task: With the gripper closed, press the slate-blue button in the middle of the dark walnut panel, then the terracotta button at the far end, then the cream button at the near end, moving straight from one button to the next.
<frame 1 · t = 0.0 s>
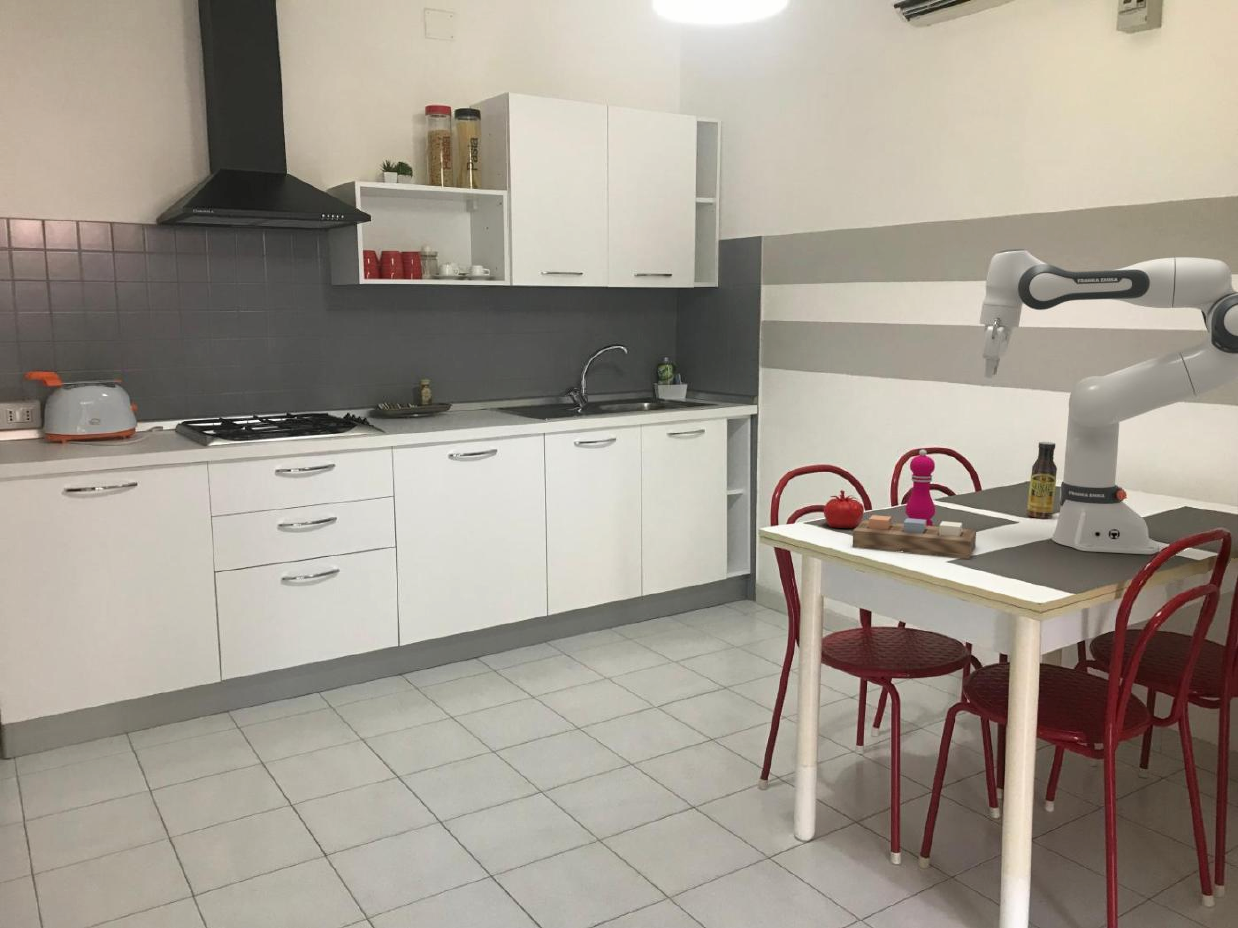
hand: (990, 376, 241), 39 cm above the table, tool pointing down, fingers open, 8 cm apart
slate button: (914, 528, 233), point 4 cm above the table, slide at 0.0 cm
terracotta button: (879, 525, 237), point 4 cm above the table, slide at 0.0 cm
button panel: (913, 546, 234), on the table
sauce bottle: (1040, 517, 265), on the table
pepper mill: (919, 528, 254), on the table
cream button: (950, 531, 230), point 4 cm above the table, slide at 0.0 cm
red tomato: (843, 526, 256), on the table
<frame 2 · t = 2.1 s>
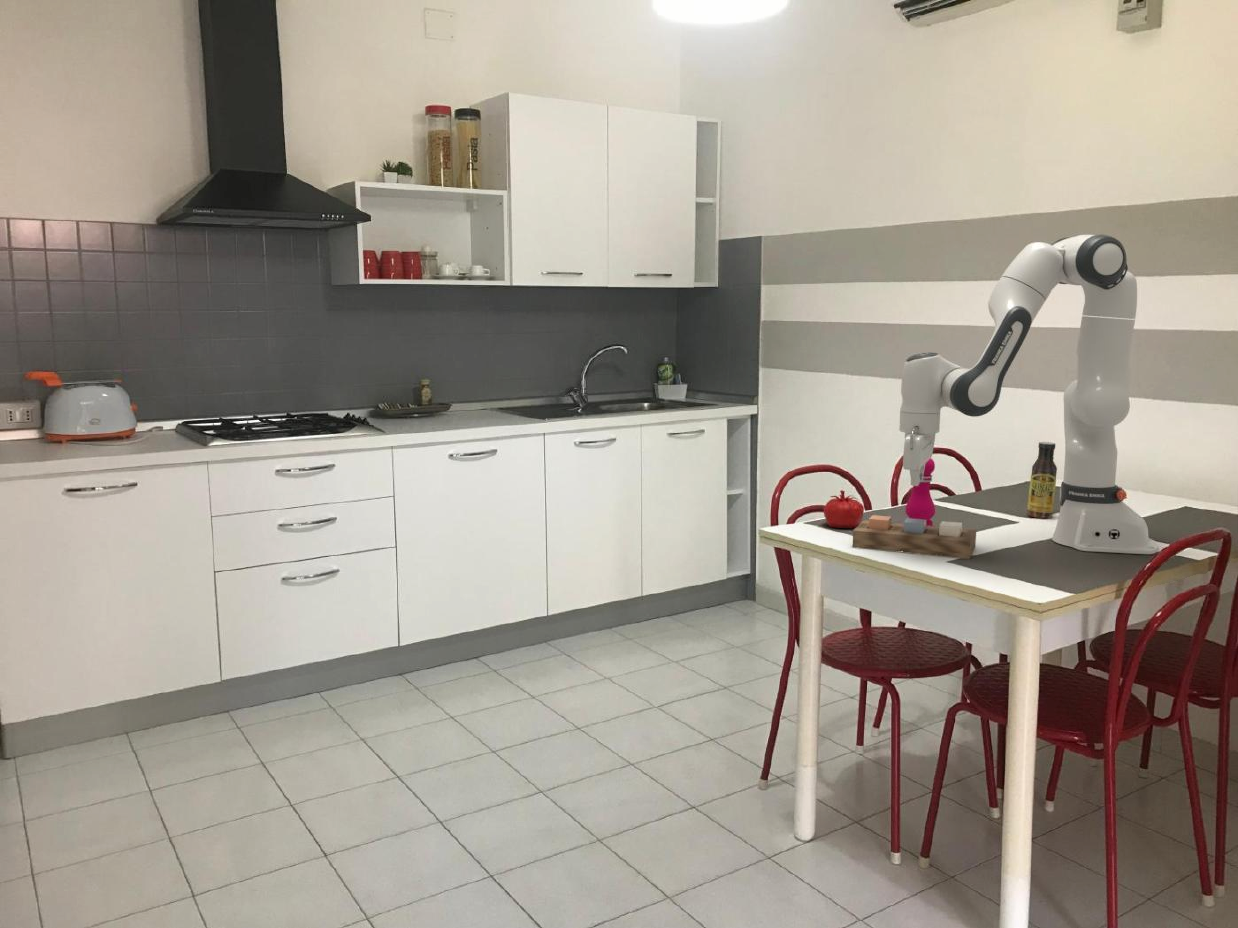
hand: (916, 483, 232), 15 cm above the table, tool pointing down, fingers open, 4 cm apart
nothing on the table moved.
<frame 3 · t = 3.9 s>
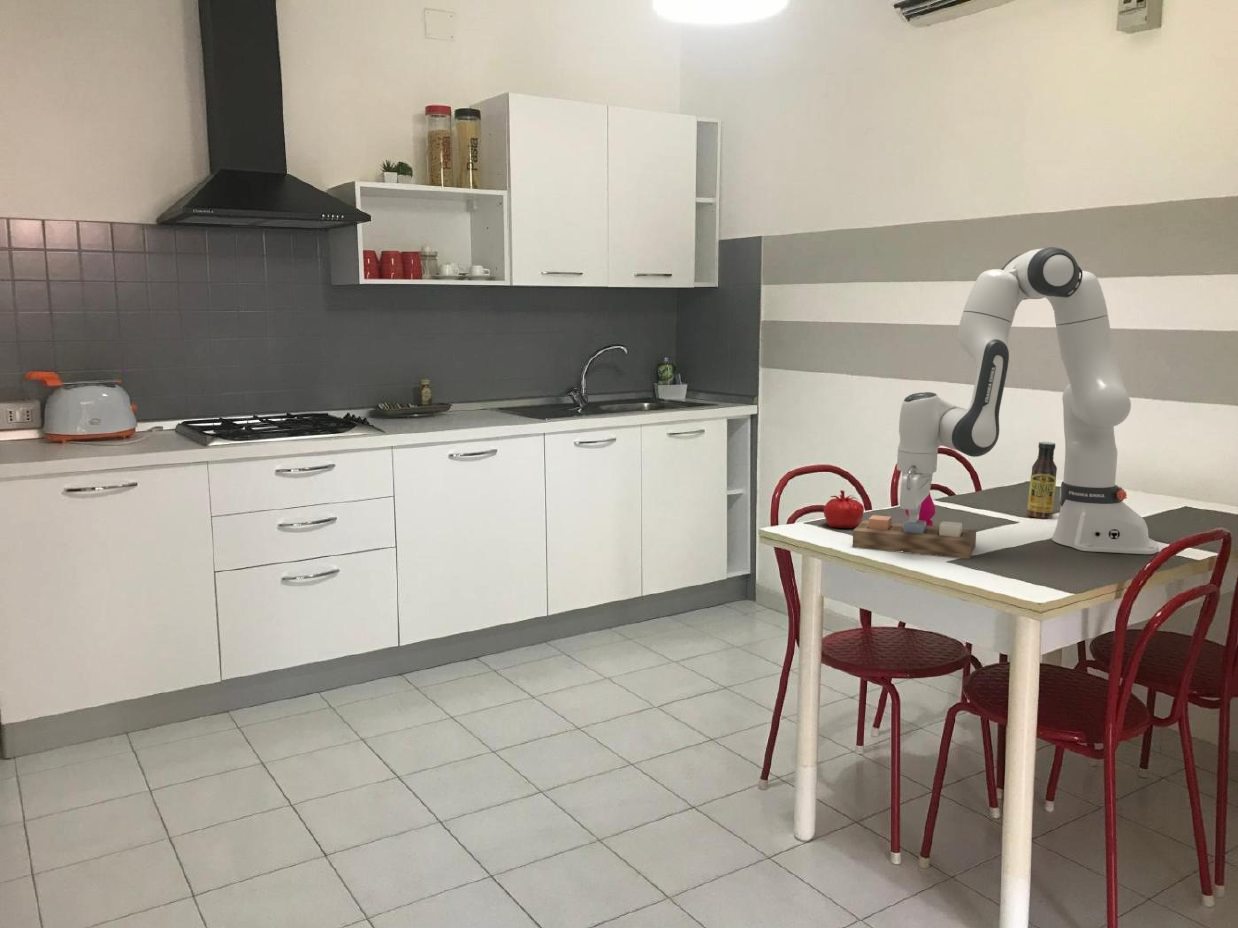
hand: (913, 521, 233), 6 cm above the table, tool pointing down, fingers closed, pressing on slate button
slate button: (914, 529, 233), point 4 cm above the table, slide at 0.3 cm, touching gripper
everything else where it was.
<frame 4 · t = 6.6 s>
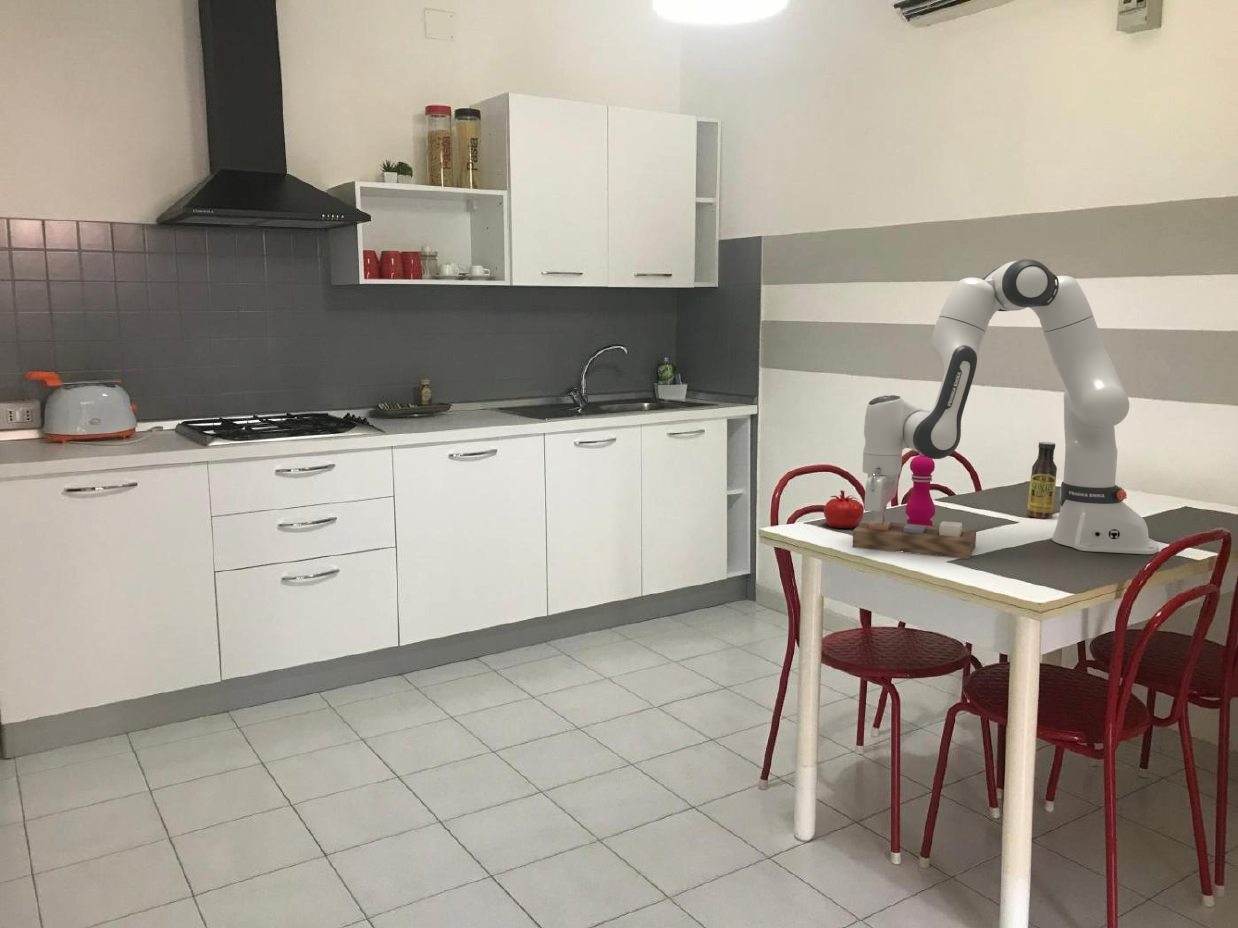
hand: (879, 522, 237), 5 cm above the table, tool pointing down, fingers closed, pressing on terracotta button
slate button: (914, 533, 234), point 3 cm above the table, slide at 1.4 cm
terracotta button: (879, 530, 237), point 3 cm above the table, slide at 1.3 cm, touching gripper
everything else where it was.
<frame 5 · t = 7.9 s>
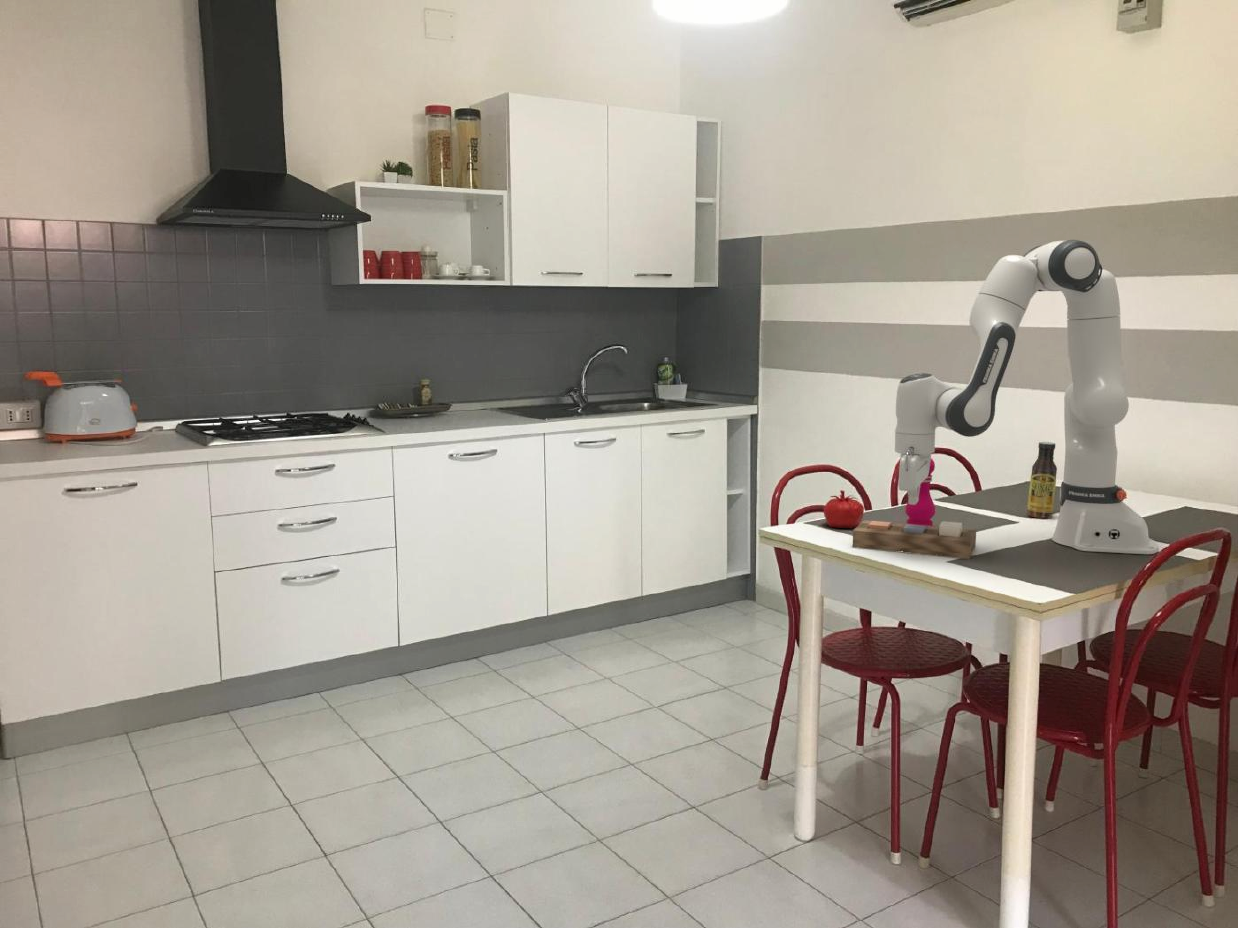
hand: (913, 503, 233), 10 cm above the table, tool pointing down, fingers closed
terracotta button: (879, 530, 237), point 3 cm above the table, slide at 1.4 cm
everything else where it was.
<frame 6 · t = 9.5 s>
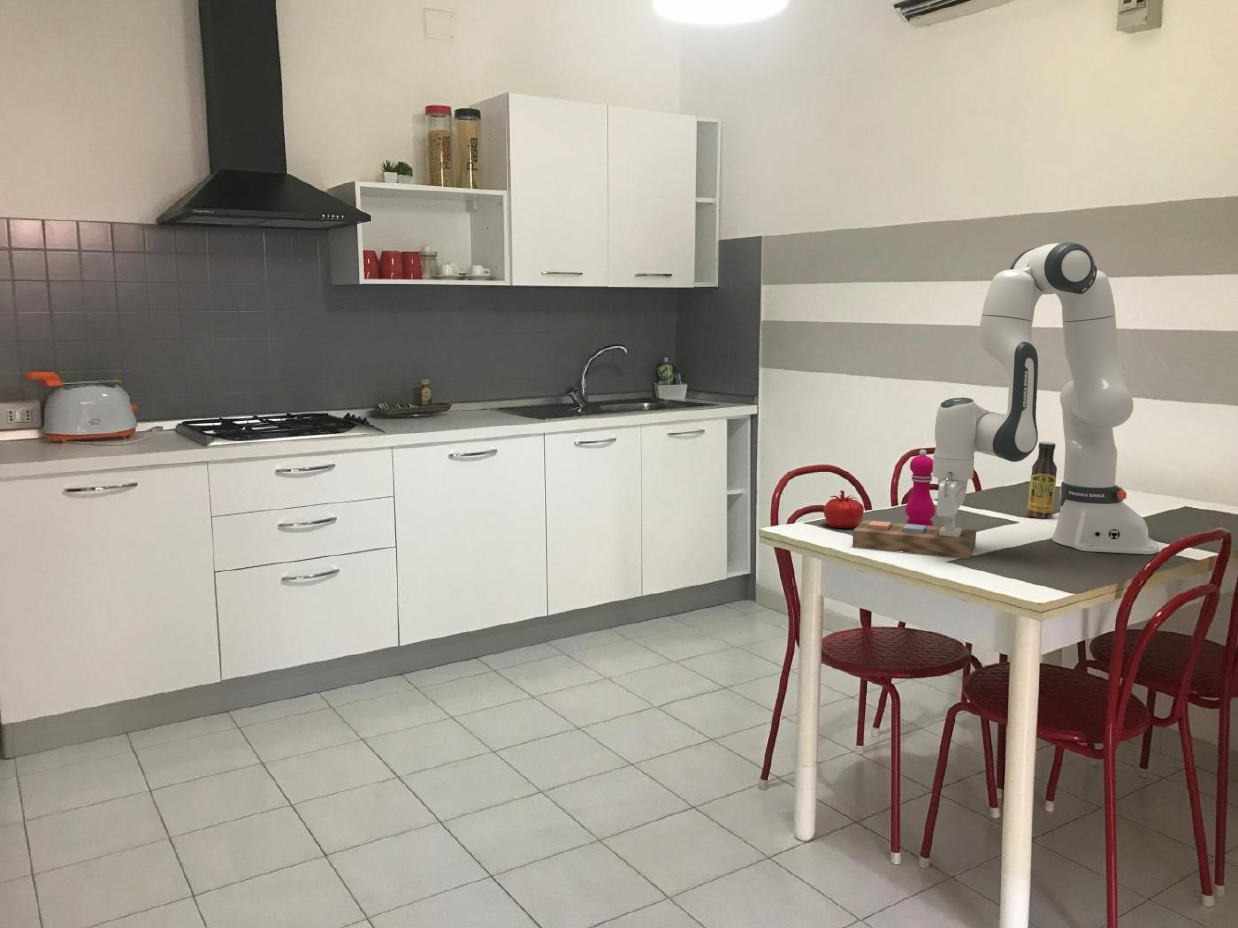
hand: (949, 528, 230), 5 cm above the table, tool pointing down, fingers closed, pressing on cream button
cream button: (950, 536, 230), point 3 cm above the table, slide at 1.2 cm, touching gripper
everything else where it was.
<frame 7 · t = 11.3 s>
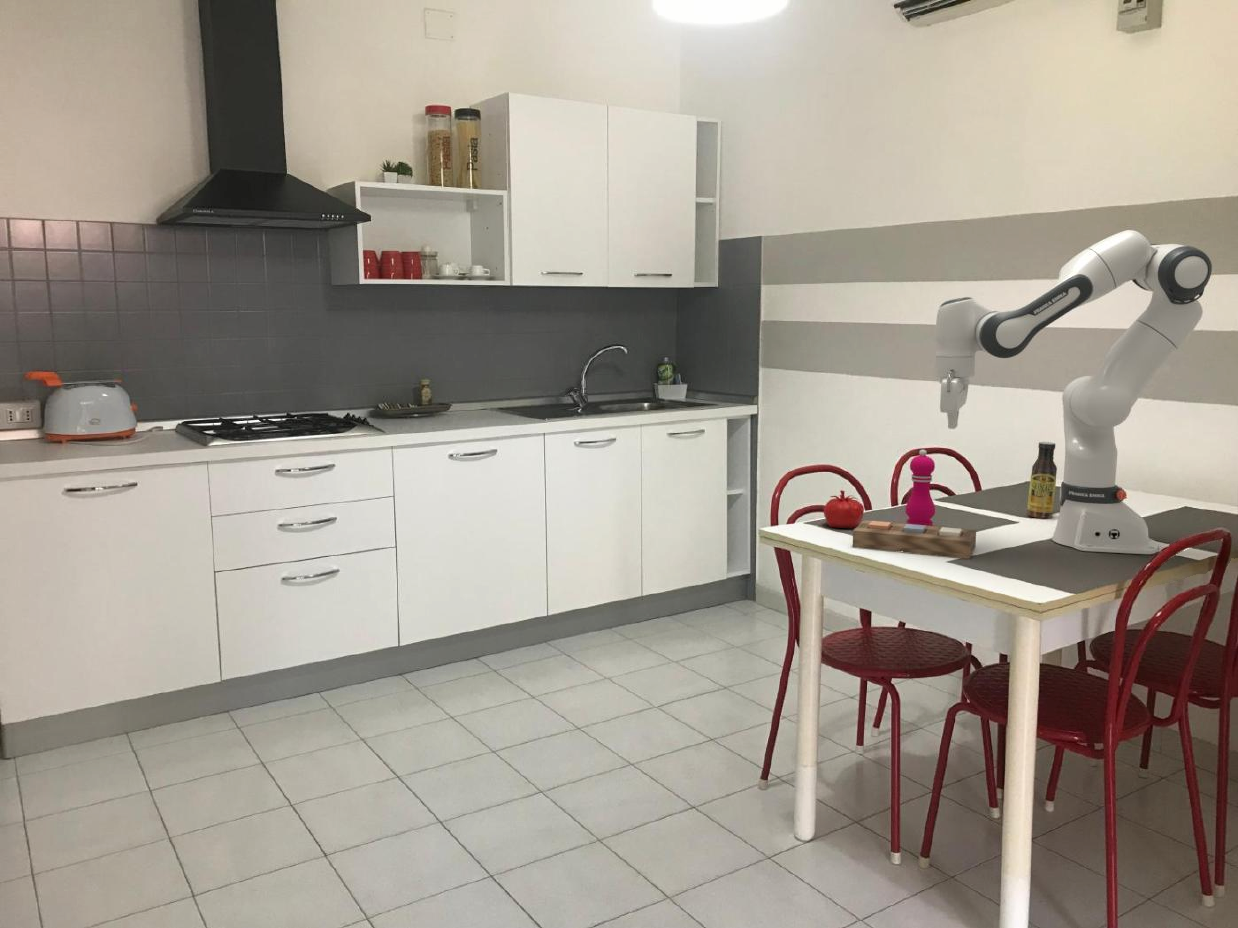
hand: (952, 428, 234), 27 cm above the table, tool pointing down, fingers closed
cream button: (950, 537, 230), point 3 cm above the table, slide at 1.4 cm
everything else where it was.
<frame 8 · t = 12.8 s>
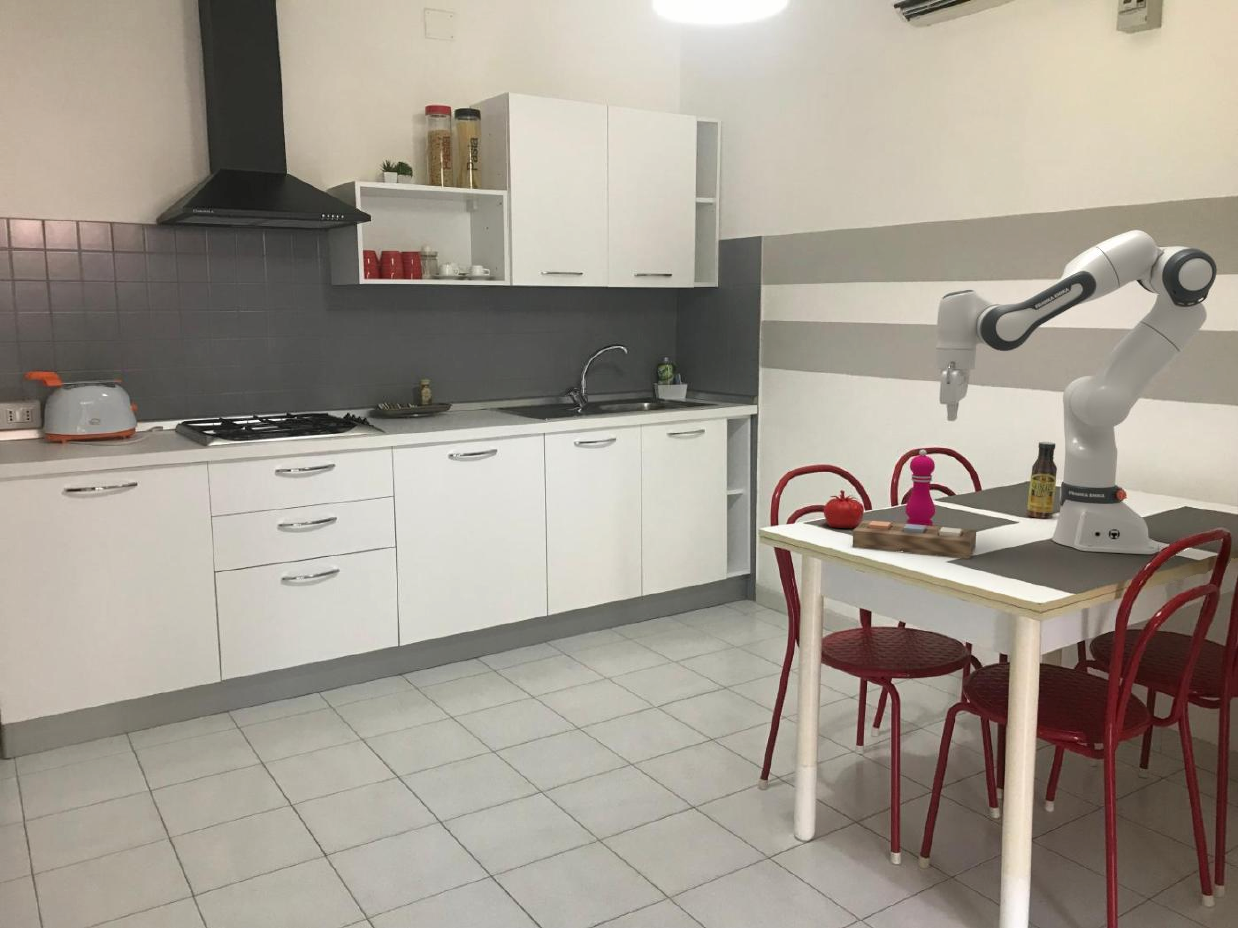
hand: (951, 420, 235), 29 cm above the table, tool pointing down, fingers closed
nothing on the table moved.
at the end: slate button slide at 1.4 cm; terracotta button slide at 1.4 cm; cream button slide at 1.4 cm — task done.
